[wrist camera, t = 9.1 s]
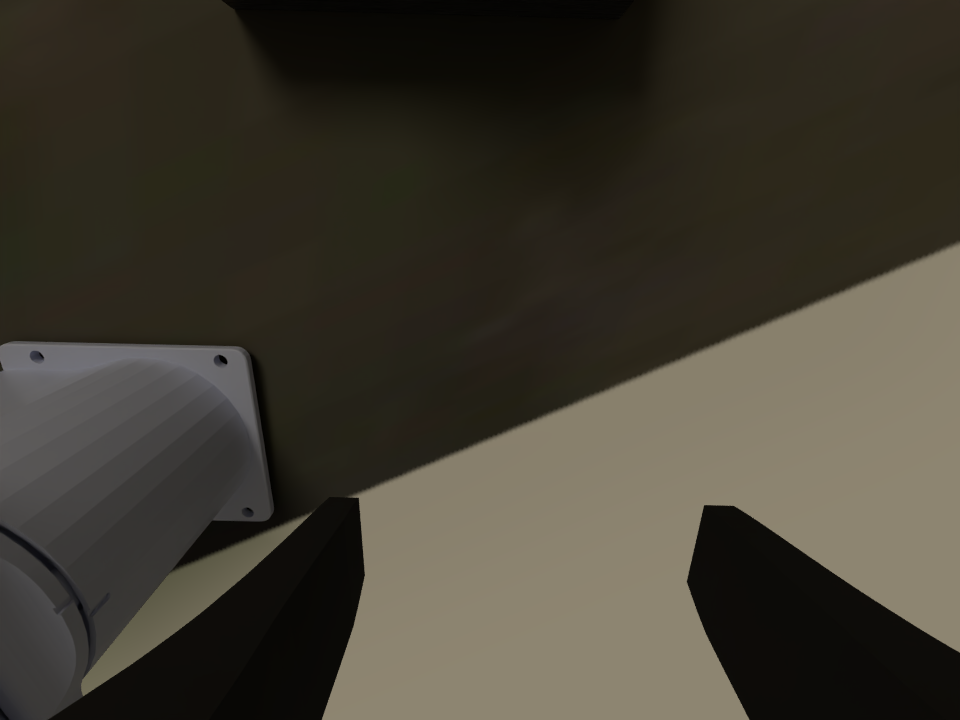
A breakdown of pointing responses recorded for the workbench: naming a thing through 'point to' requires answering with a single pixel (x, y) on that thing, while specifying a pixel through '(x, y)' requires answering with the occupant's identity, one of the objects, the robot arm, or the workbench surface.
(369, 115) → the workbench surface
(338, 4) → the steel base
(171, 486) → the robot arm
